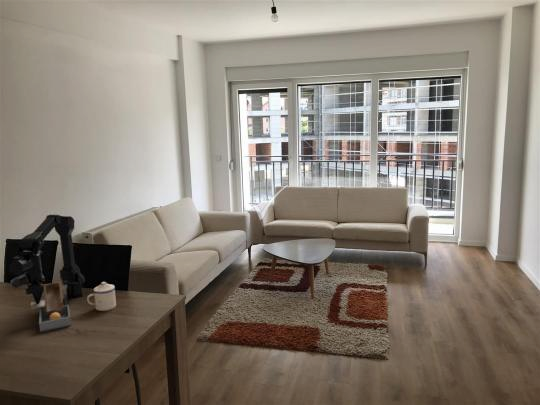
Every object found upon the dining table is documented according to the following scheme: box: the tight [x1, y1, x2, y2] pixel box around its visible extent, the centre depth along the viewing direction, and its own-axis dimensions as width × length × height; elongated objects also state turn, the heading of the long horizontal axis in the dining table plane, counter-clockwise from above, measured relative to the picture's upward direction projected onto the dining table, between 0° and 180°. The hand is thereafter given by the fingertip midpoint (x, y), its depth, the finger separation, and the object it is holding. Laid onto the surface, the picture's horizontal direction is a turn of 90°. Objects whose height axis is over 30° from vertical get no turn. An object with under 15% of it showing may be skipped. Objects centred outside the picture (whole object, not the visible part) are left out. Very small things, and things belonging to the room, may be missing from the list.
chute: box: [30, 281, 65, 313], centre depth 185 cm, size 12×18×6 cm
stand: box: [40, 293, 68, 310], centre depth 187 cm, size 11×5×7 cm, turn 117°
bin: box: [38, 304, 72, 333], centre depth 177 cm, size 11×14×4 cm
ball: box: [50, 312, 60, 320], centre depth 175 cm, size 4×4×4 cm
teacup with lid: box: [86, 281, 117, 312], centre depth 189 cm, size 12×9×12 cm
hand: (37, 303), depth 177 cm, fingers closed
